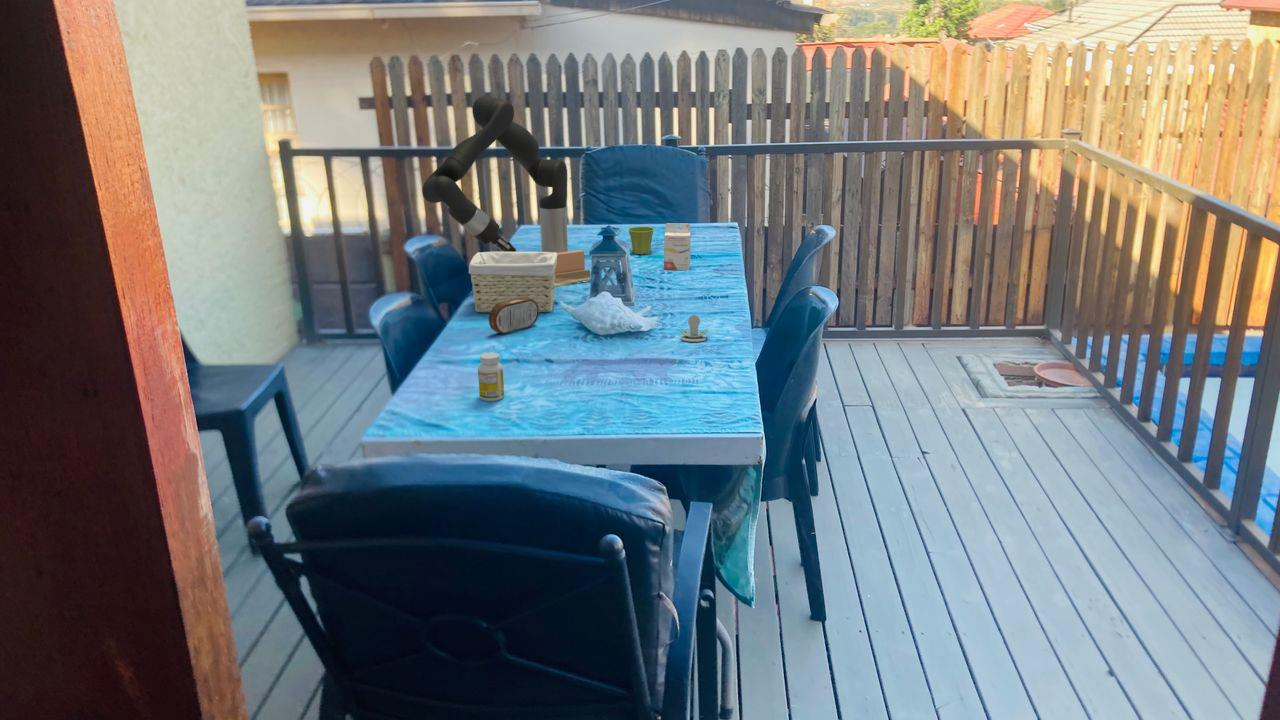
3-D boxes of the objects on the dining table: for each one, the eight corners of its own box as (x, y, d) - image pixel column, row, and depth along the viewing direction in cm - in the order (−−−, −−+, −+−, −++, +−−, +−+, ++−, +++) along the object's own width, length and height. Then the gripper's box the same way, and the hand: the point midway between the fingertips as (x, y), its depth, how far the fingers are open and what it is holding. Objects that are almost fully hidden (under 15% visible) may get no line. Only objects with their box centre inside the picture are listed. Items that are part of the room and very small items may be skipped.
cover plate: (541, 283, 302) (540, 255, 299) (581, 277, 308) (580, 249, 305) (544, 284, 300) (543, 256, 297) (585, 279, 306) (584, 251, 303)
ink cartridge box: (663, 270, 316) (663, 225, 311) (664, 266, 321) (664, 222, 316) (689, 270, 315) (690, 226, 310) (690, 266, 320) (690, 223, 315)
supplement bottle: (491, 403, 206) (488, 361, 202) (474, 398, 209) (471, 356, 206) (509, 396, 209) (507, 354, 206) (493, 391, 213) (490, 349, 210)
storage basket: (560, 298, 284) (558, 250, 279) (556, 314, 269) (553, 263, 264) (479, 300, 284) (475, 251, 279) (470, 315, 269) (466, 264, 264)
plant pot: (623, 255, 337) (623, 230, 335) (634, 249, 346) (633, 225, 343) (648, 257, 334) (648, 232, 331) (658, 251, 342) (658, 227, 339)
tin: (534, 323, 261) (532, 293, 258) (541, 325, 259) (540, 295, 256) (488, 335, 251) (486, 304, 249) (496, 337, 249) (494, 306, 246)
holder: (527, 280, 304) (526, 271, 303) (578, 273, 313) (578, 264, 312) (541, 288, 295) (541, 279, 294) (594, 281, 303) (593, 271, 302)
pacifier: (707, 344, 243) (708, 336, 249) (707, 320, 241) (708, 313, 247) (678, 343, 244) (680, 335, 250) (678, 320, 242) (680, 312, 247)
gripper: (495, 219, 280) (536, 255, 290) (480, 211, 291) (520, 246, 301) (479, 238, 280) (521, 274, 289) (464, 231, 291) (505, 265, 300)
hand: (520, 260), depth 295 cm, fingers closed
